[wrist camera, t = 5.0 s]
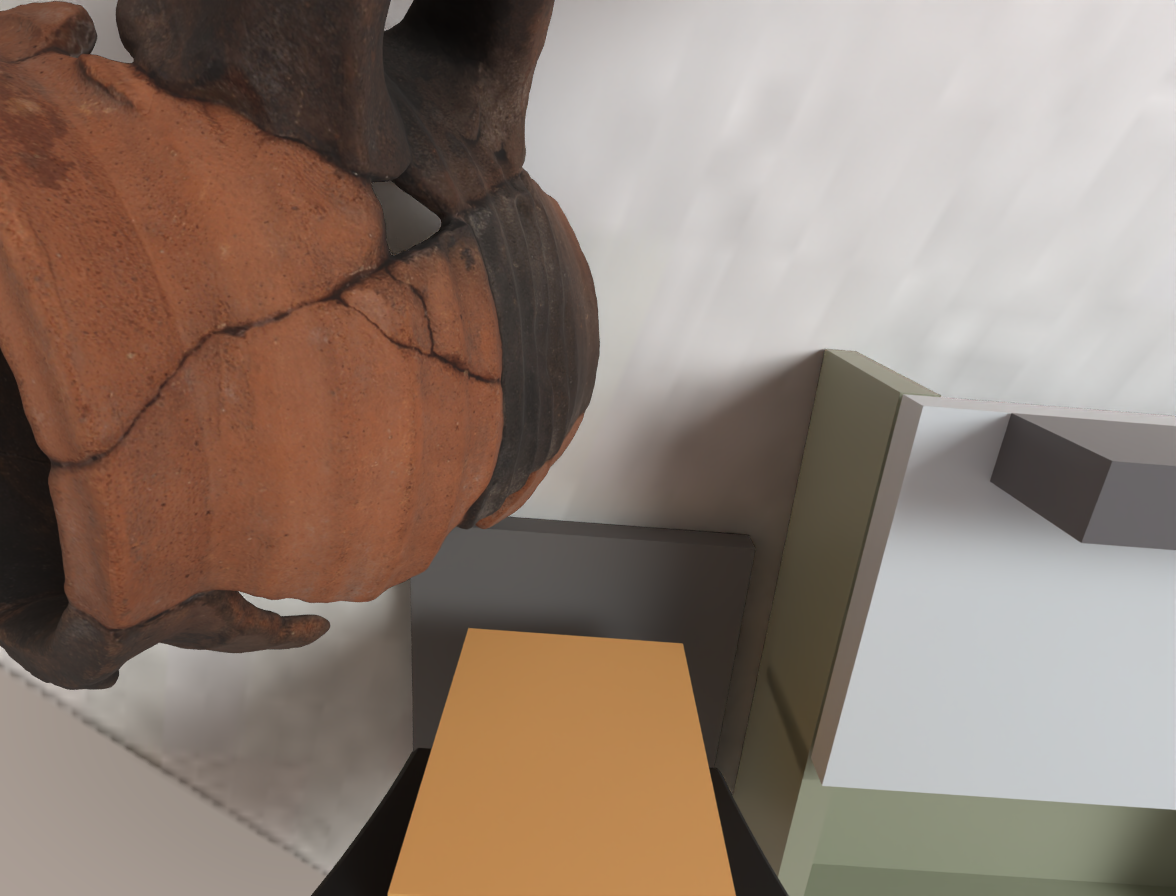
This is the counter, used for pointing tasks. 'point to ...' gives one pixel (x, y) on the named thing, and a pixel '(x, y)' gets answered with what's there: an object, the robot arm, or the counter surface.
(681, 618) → the mat
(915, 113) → the counter surface
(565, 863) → the block
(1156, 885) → the case
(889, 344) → the counter surface
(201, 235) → the broken clay pot
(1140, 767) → the lid
